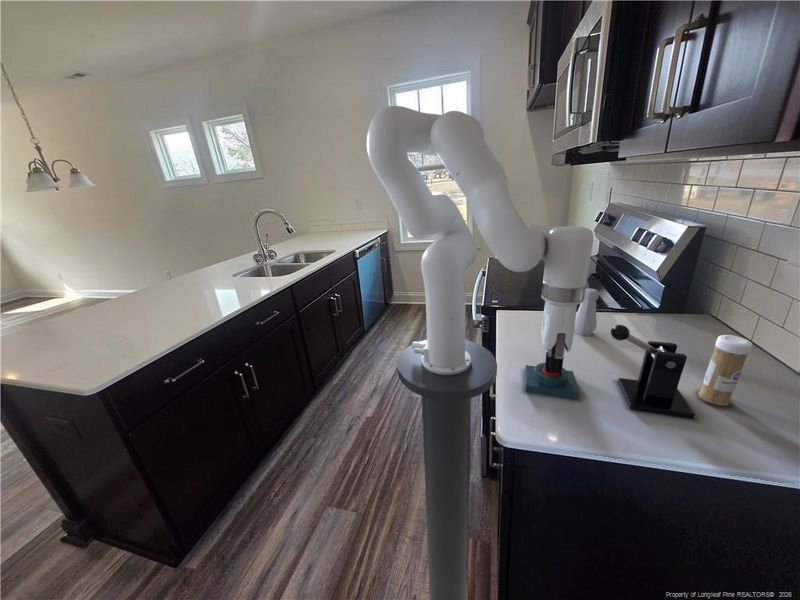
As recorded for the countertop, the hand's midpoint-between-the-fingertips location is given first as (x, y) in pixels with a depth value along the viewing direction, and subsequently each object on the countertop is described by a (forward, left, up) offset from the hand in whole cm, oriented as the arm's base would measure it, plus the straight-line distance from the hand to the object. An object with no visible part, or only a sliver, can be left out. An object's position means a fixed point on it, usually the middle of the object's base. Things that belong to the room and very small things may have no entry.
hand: (552, 370), depth 69 cm
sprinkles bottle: (+30, +3, -4) cm, 30 cm away
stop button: (0, 0, -2) cm, 2 cm away
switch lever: (+14, 0, +7) cm, 16 cm away
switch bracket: (+19, 0, -4) cm, 19 cm away
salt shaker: (+11, +28, -4) cm, 30 cm away
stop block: (0, 0, -4) cm, 4 cm away
